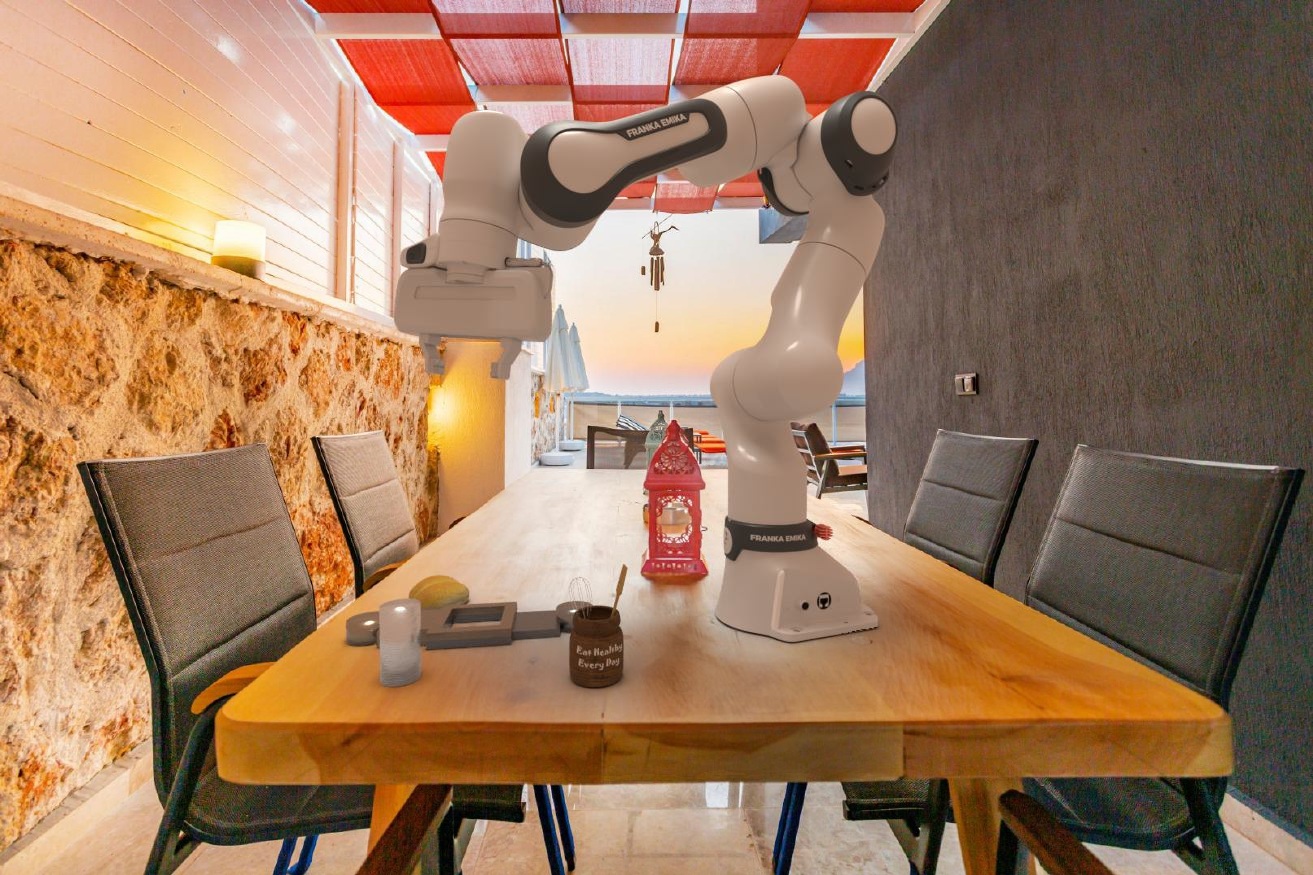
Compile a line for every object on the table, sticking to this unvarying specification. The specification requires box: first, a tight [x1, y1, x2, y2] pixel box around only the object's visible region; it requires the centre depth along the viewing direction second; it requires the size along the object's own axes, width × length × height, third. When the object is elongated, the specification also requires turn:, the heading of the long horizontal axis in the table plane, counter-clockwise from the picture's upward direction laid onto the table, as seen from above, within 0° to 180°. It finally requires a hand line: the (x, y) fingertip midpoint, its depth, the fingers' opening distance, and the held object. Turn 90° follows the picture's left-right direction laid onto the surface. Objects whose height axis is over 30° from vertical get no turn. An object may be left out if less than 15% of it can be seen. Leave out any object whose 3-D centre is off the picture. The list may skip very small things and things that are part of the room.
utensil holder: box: [568, 563, 628, 688], centre depth 59 cm, size 6×6×12 cm
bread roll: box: [408, 574, 470, 610], centre depth 82 cm, size 8×9×4 cm
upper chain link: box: [345, 601, 518, 649], centre depth 70 cm, size 20×10×2 cm, turn 100°
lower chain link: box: [425, 600, 594, 651], centre depth 72 cm, size 20×10×2 cm, turn 100°
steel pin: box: [378, 598, 422, 688], centre depth 58 cm, size 4×4×8 cm
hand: (466, 376), depth 64 cm, fingers open, 8 cm apart
